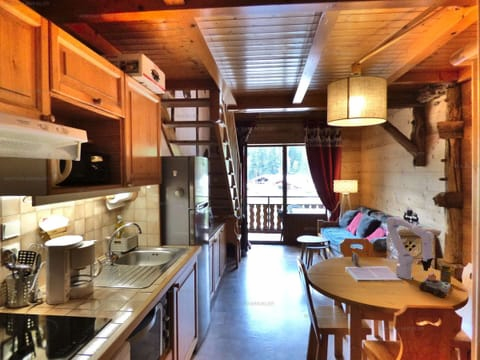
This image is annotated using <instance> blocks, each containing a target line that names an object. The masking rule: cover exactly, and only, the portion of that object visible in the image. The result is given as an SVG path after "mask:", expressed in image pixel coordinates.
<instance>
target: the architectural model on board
mask: <svg viewBox="0 0 480 360" xmlns="http://www.w3.org/2000/svg"><path fill="white" fill-rule="evenodd" d="M351 262H352V263H353V264H354V266H359V255H358V254H357V253H356V252H355V251H353V249H352V250H351Z"/></svg>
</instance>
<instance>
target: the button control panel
mask: <svg viewBox="0 0 480 360" xmlns="http://www.w3.org/2000/svg"><path fill="white" fill-rule="evenodd" d="M422 282H425V283H426V285H428V286H430V287H433V288H435V289H436V288H439V289H441V291H443V292H445V293H446V292H447V293H446V294H448V293H449V291H450V289H451V285H450V284H449V283H448V282H442V281H440V280H439V279H436V283H431V282H428V277H425V278H424V280H423V281H422Z"/></svg>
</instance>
